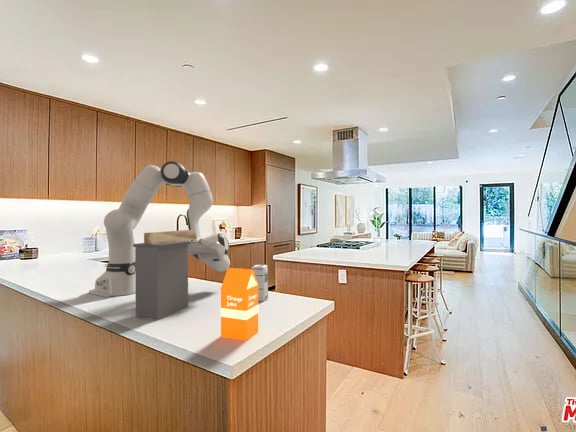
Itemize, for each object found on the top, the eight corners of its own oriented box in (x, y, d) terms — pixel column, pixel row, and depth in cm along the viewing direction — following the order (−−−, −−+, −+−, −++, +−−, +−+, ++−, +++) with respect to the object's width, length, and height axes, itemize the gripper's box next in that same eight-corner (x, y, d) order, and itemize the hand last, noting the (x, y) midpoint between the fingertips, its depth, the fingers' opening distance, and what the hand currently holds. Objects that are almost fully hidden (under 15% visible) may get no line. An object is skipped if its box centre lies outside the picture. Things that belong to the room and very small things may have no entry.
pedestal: (133, 316, 113) (133, 244, 113) (165, 304, 128) (165, 240, 128) (159, 320, 109) (159, 245, 109) (190, 307, 124) (189, 241, 123)
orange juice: (246, 341, 91) (246, 271, 91) (220, 336, 94) (220, 269, 94) (258, 331, 98) (258, 267, 98) (234, 327, 101) (234, 265, 101)
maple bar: (144, 244, 112) (144, 232, 112) (188, 239, 135) (188, 229, 135) (152, 244, 111) (152, 233, 111) (196, 239, 133) (195, 229, 133)
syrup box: (264, 301, 132) (264, 266, 132) (251, 300, 134) (251, 266, 134) (268, 297, 138) (268, 264, 138) (255, 297, 139) (255, 264, 139)
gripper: (191, 245, 150) (174, 232, 139) (228, 247, 143) (213, 233, 131) (187, 258, 147) (168, 245, 136) (224, 260, 140) (208, 247, 128)
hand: (191, 239), depth 134 cm, fingers open, 8 cm apart
